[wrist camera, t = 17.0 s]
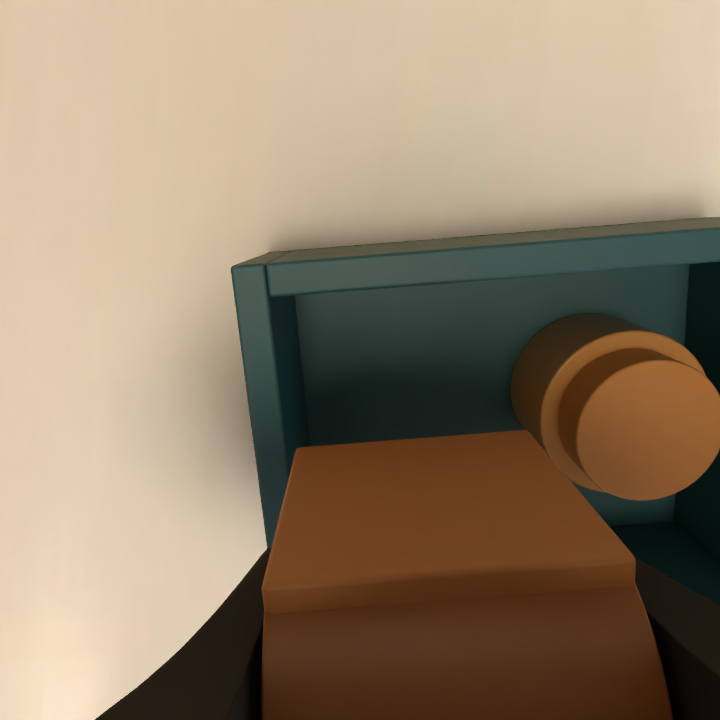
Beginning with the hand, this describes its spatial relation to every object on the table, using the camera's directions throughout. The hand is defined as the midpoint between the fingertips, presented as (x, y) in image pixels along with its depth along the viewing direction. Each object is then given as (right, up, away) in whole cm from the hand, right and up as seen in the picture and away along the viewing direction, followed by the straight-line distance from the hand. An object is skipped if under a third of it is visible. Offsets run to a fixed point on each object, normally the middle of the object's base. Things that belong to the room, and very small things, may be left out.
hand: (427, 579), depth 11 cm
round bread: (+6, +4, +8) cm, 11 cm away
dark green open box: (+3, +3, +9) cm, 10 cm away
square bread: (0, 0, +1) cm, 1 cm away
